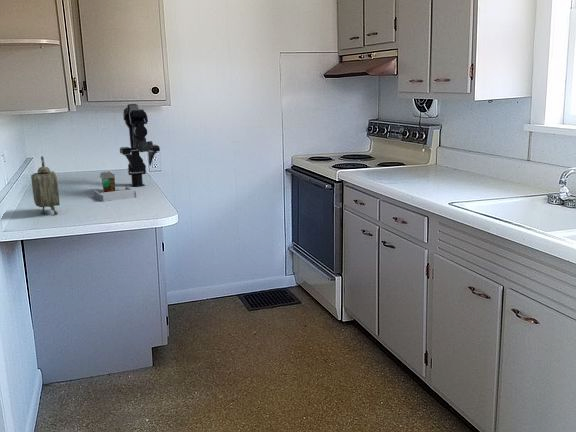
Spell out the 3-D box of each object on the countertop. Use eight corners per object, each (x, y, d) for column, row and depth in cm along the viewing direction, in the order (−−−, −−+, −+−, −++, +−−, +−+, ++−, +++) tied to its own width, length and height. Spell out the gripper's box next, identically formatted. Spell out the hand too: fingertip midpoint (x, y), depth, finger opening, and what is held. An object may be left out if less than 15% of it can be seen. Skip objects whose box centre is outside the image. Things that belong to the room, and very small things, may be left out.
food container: (99, 190, 299) (97, 171, 297) (111, 189, 302) (109, 170, 299) (103, 194, 288) (101, 175, 286) (116, 193, 291) (114, 173, 289)
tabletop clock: (61, 215, 247) (54, 157, 241) (38, 218, 243) (31, 159, 237) (56, 208, 260) (50, 153, 254) (35, 211, 256) (28, 155, 250)
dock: (93, 195, 285) (92, 188, 284) (127, 192, 294) (127, 184, 293) (101, 201, 273) (100, 193, 272) (136, 197, 282) (135, 189, 281)
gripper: (125, 138, 272) (127, 171, 276) (162, 135, 282) (164, 167, 286) (118, 136, 281) (120, 167, 285) (154, 133, 291) (156, 163, 295)
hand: (141, 166), depth 288 cm, fingers open, 9 cm apart
